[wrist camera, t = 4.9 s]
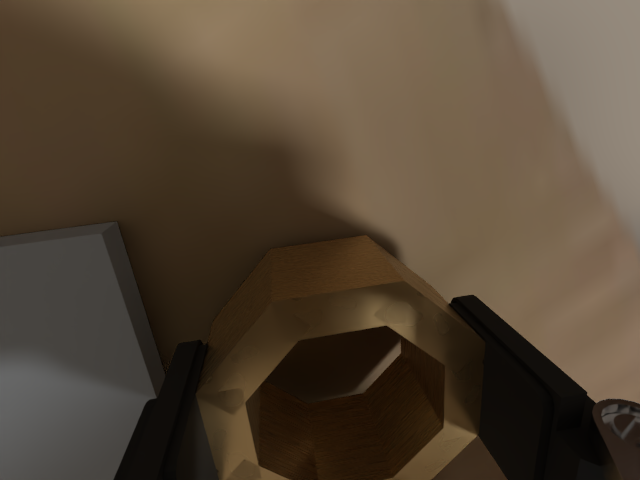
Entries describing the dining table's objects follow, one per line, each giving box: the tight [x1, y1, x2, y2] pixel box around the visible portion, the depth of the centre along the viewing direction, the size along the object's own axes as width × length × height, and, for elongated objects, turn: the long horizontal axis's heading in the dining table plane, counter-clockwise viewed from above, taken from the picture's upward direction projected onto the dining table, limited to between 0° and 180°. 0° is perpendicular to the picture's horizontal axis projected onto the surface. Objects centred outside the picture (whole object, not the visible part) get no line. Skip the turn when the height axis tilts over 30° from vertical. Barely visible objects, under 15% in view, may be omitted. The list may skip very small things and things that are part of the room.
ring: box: [196, 235, 485, 480], centre depth 10 cm, size 7×7×3 cm
